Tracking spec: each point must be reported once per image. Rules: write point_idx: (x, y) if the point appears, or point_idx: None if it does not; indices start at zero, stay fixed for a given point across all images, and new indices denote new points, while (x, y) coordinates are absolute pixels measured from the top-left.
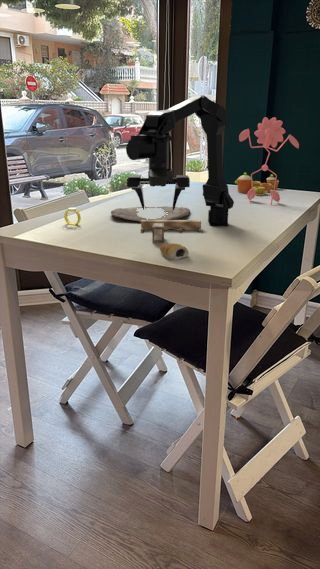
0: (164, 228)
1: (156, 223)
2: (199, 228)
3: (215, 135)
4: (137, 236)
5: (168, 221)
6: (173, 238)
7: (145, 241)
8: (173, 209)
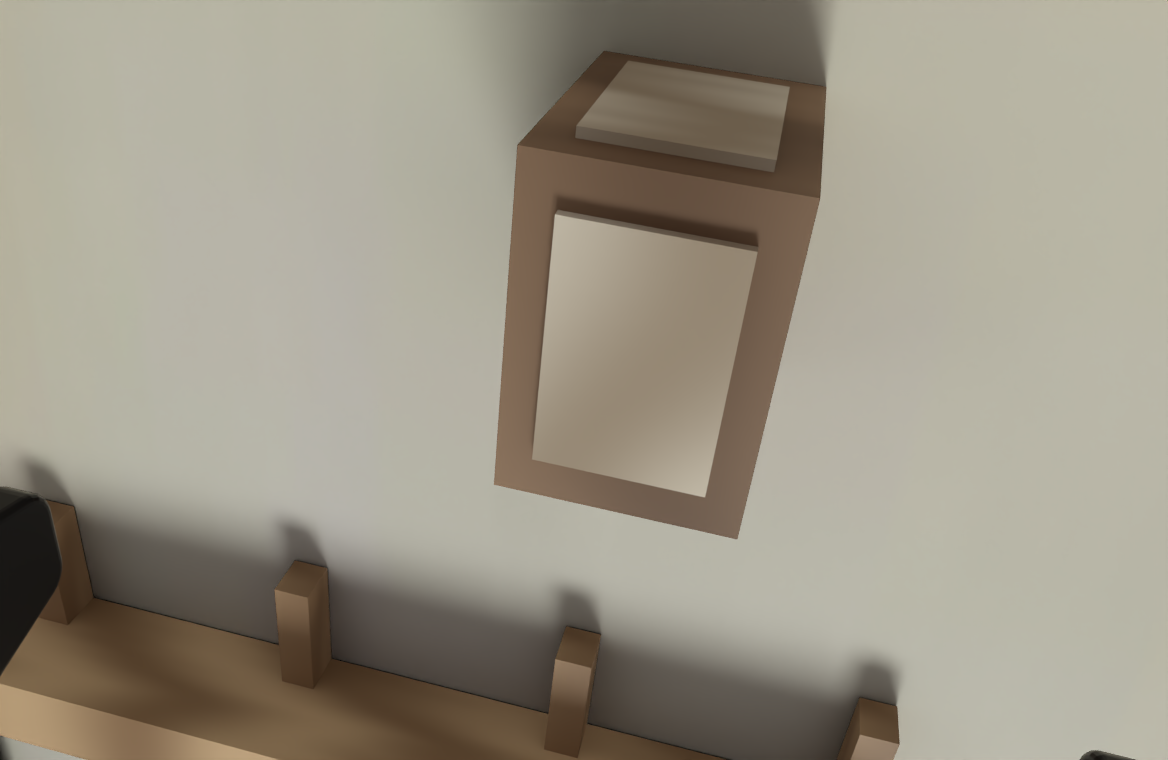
0: (523, 726)
1: (663, 482)
2: None
3: None
4: (1016, 520)
5: None
6: (416, 299)
7: (949, 197)
8: (19, 490)
